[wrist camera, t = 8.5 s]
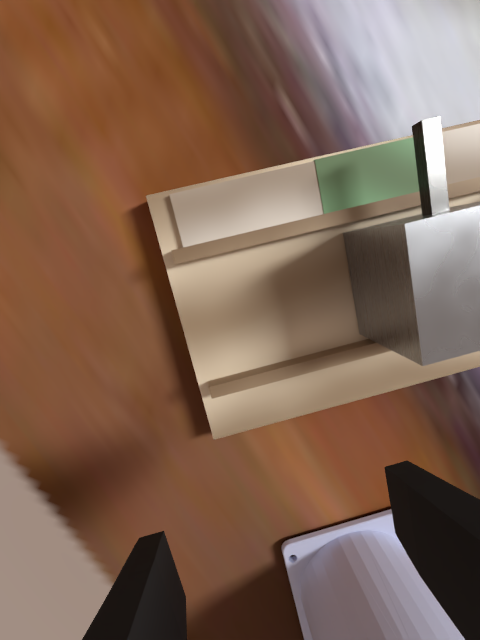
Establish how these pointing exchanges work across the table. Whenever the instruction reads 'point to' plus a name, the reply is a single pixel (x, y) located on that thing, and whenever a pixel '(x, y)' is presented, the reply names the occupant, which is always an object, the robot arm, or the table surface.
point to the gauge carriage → (420, 268)
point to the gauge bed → (294, 278)
